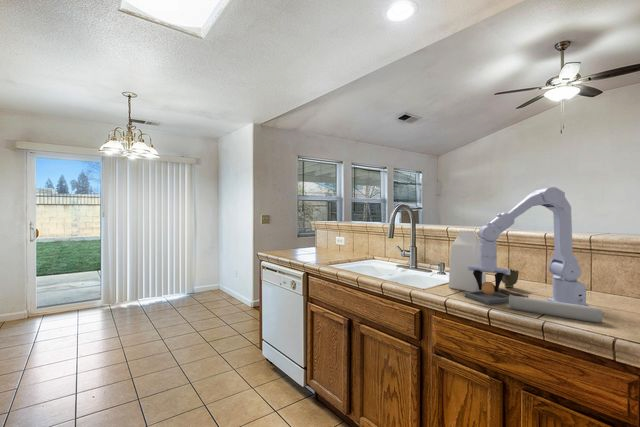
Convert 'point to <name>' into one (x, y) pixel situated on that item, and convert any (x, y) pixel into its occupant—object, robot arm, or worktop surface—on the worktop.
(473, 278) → the milk
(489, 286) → the egg
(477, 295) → the tray
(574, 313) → the tube
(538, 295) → the worktop surface
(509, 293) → the fence
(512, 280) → the cup
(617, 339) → the worktop surface
